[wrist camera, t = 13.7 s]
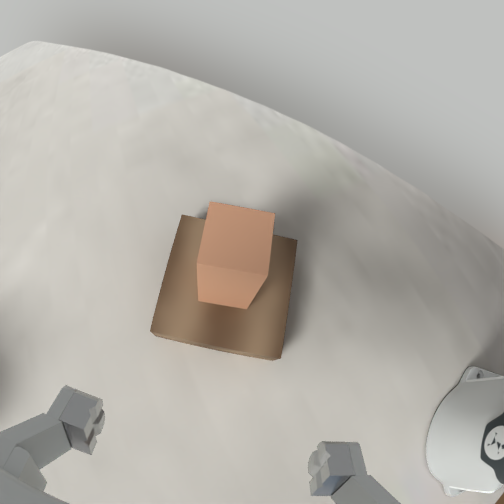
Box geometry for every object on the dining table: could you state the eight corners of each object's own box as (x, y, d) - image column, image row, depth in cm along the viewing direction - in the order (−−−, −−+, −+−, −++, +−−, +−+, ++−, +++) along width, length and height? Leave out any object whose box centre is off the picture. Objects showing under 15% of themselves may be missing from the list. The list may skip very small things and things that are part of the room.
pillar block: (253, 263, 31) (274, 213, 22) (246, 309, 29) (267, 275, 20) (206, 255, 31) (209, 201, 21) (198, 301, 29) (196, 263, 20)
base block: (287, 254, 36) (297, 240, 33) (271, 360, 32) (280, 358, 28) (183, 231, 36) (182, 214, 32) (156, 336, 31) (150, 330, 27)
